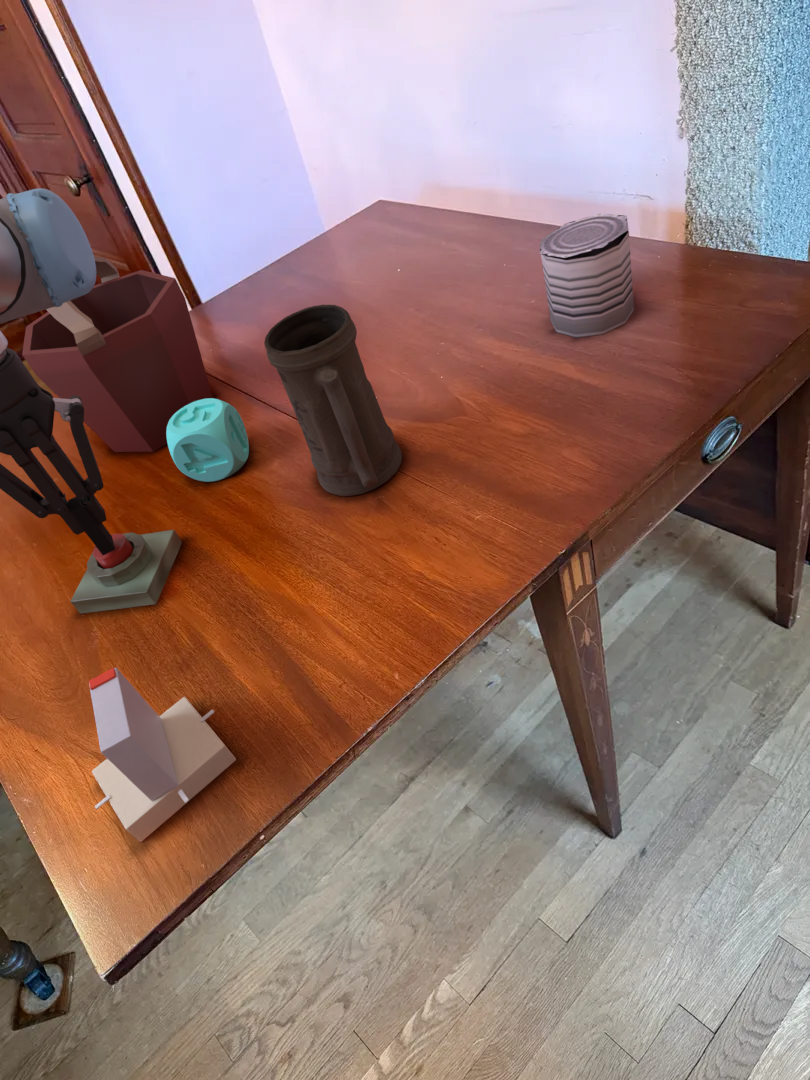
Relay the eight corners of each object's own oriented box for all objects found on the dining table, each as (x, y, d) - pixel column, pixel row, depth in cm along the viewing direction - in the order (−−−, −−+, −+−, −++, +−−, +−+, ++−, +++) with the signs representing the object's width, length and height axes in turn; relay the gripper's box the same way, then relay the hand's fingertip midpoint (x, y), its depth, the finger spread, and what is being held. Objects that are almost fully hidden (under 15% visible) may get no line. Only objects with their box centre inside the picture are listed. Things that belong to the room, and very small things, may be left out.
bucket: (197, 460, 103) (101, 294, 87) (62, 482, 109) (-52, 330, 92) (242, 365, 121) (169, 212, 104) (124, 388, 126) (37, 246, 110)
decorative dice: (245, 475, 98) (219, 426, 92) (189, 488, 99) (160, 440, 94) (252, 439, 104) (228, 391, 98) (199, 452, 105) (173, 405, 100)
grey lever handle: (179, 785, 62) (129, 733, 57) (151, 801, 62) (98, 750, 57) (161, 718, 68) (114, 665, 63) (136, 732, 68) (86, 679, 62)
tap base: (139, 870, 61) (122, 856, 59) (86, 779, 69) (70, 764, 67) (258, 765, 65) (246, 749, 63) (196, 691, 73) (183, 675, 71)
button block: (156, 604, 84) (138, 580, 81) (80, 614, 86) (60, 591, 84) (182, 542, 91) (167, 518, 88) (111, 552, 93) (94, 529, 91)
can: (597, 345, 97) (588, 258, 90) (533, 327, 105) (519, 245, 97) (652, 303, 101) (648, 215, 93) (585, 288, 109) (576, 206, 101)
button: (126, 566, 84) (118, 556, 83) (95, 570, 85) (87, 560, 84) (138, 541, 87) (130, 531, 86) (108, 546, 88) (100, 535, 87)
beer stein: (304, 465, 96) (244, 331, 81) (376, 426, 97) (330, 288, 83) (355, 533, 85) (297, 392, 71) (435, 488, 87) (393, 342, 73)
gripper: (37, 322, 72) (155, 502, 88) (-94, 381, 70) (50, 555, 86) (42, 348, 67) (167, 536, 82) (-100, 413, 65) (55, 593, 80)
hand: (107, 545), depth 84 cm, fingers closed
